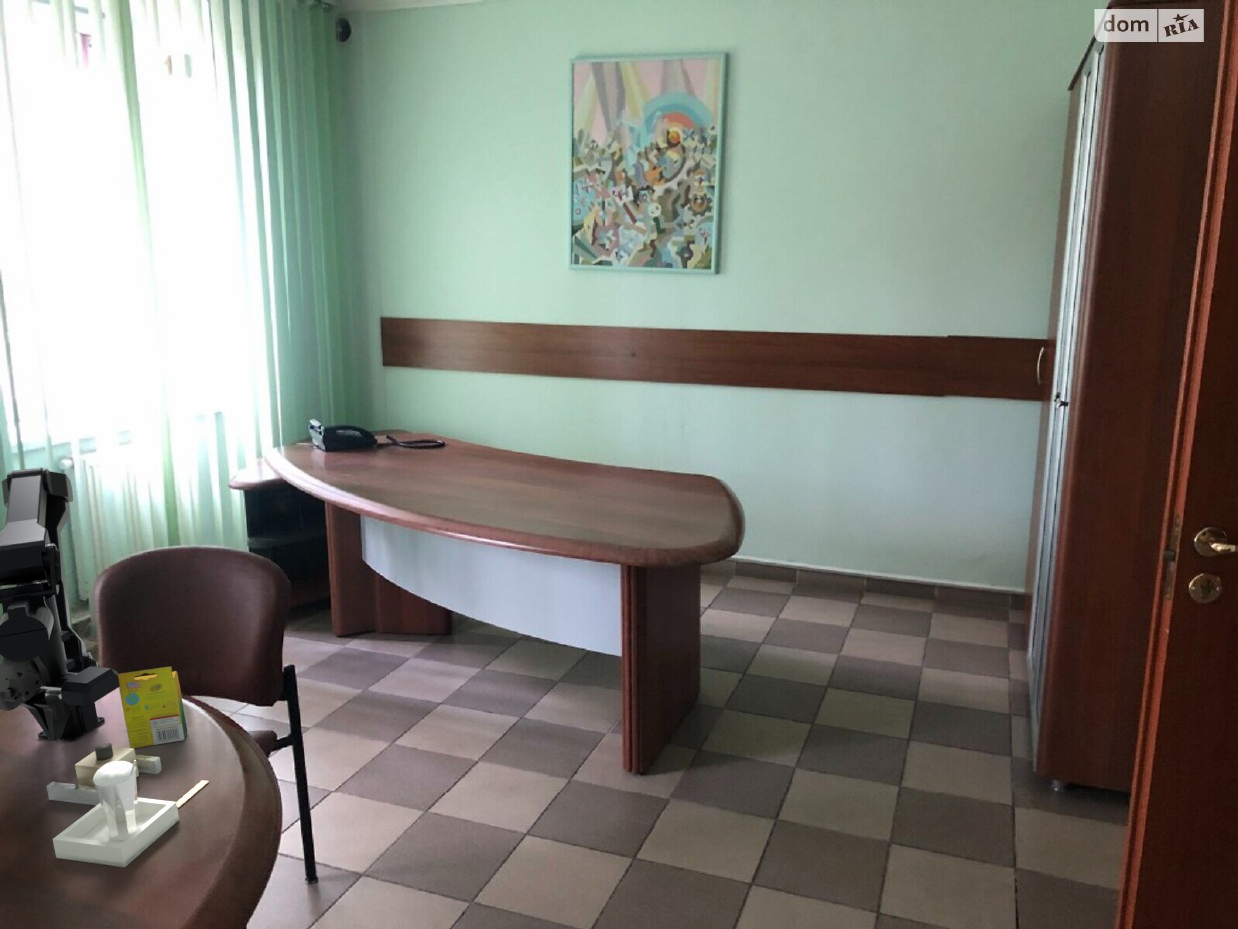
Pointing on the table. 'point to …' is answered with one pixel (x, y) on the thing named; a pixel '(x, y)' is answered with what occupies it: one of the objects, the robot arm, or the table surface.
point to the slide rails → (90, 793)
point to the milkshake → (118, 798)
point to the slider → (102, 761)
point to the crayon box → (152, 707)
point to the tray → (96, 846)
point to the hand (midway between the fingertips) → (55, 739)
